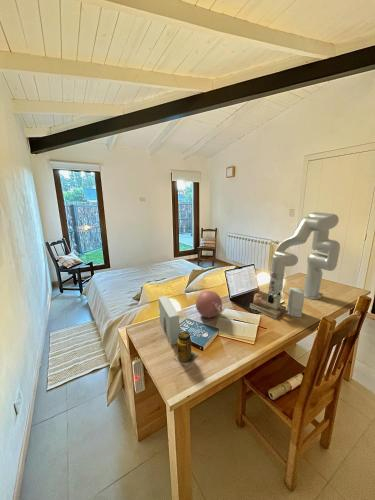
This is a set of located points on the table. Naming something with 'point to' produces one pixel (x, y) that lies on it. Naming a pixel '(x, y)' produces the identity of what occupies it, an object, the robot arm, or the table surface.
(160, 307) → the skincare box
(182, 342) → the condiment
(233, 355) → the table surface
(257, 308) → the shelf
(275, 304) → the carton
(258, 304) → the jar
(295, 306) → the skincare box
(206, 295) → the pink ball
